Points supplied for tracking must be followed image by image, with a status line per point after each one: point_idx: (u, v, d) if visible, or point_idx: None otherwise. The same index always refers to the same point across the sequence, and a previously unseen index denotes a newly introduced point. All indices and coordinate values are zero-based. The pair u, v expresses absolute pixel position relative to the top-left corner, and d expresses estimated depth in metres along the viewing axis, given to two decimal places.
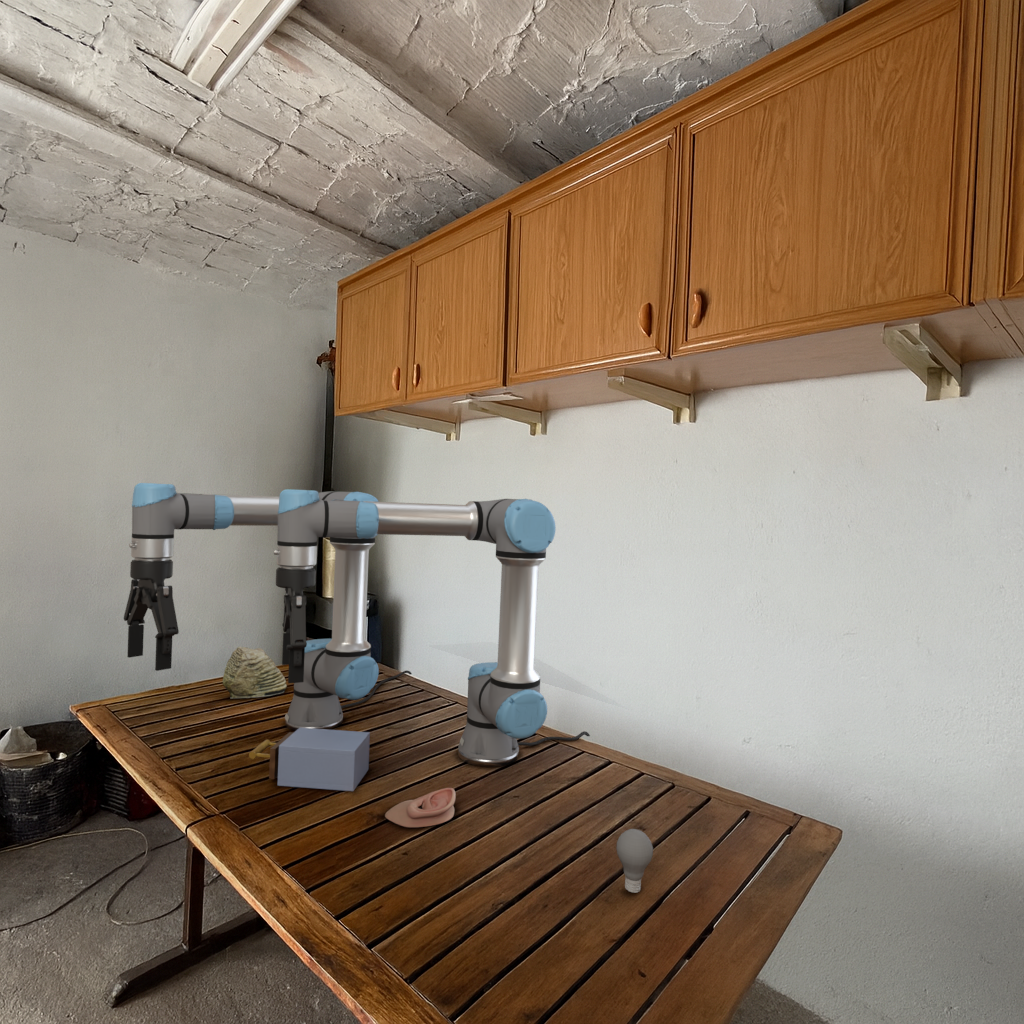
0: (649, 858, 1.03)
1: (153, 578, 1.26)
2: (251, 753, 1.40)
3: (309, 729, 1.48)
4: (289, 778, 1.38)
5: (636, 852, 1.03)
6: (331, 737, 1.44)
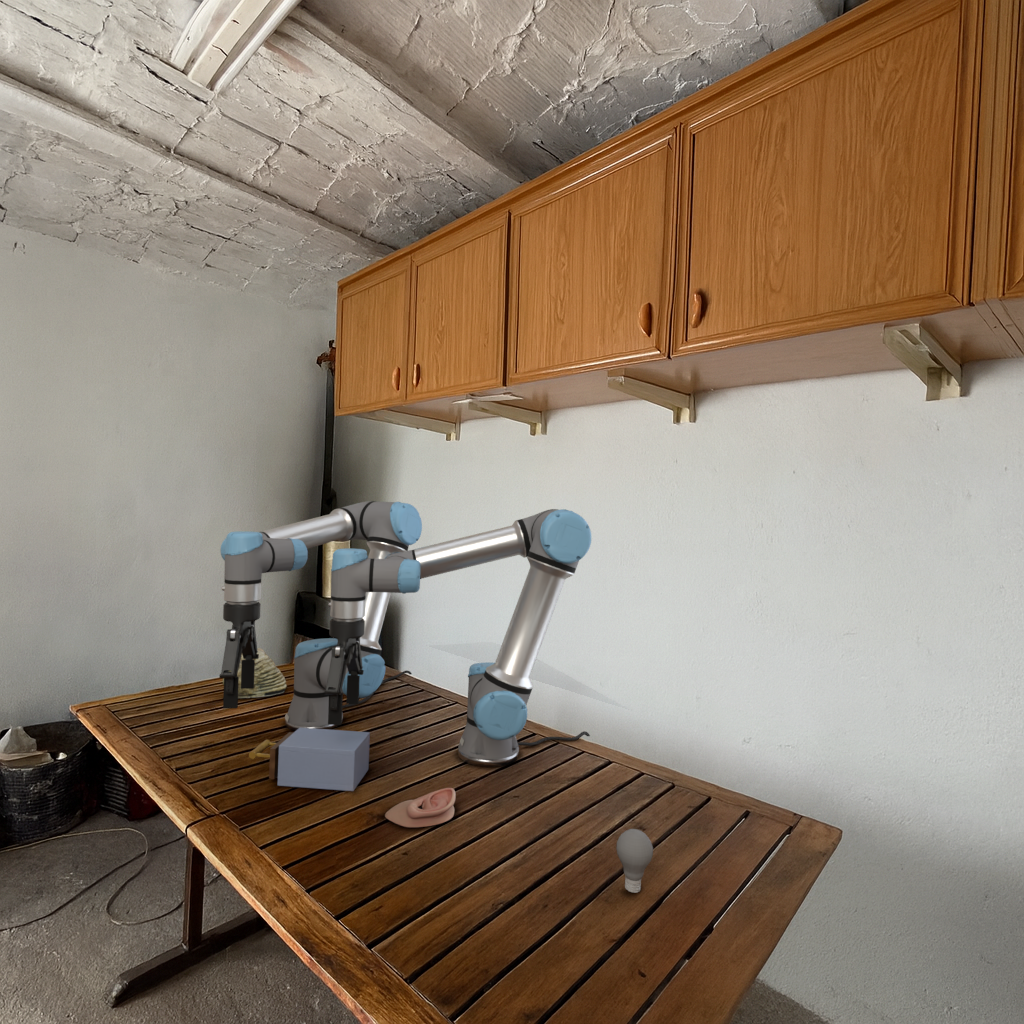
0: (649, 858, 1.03)
1: (231, 621, 1.36)
2: (251, 753, 1.40)
3: (309, 729, 1.48)
4: (289, 778, 1.38)
5: (636, 852, 1.03)
6: (331, 737, 1.44)
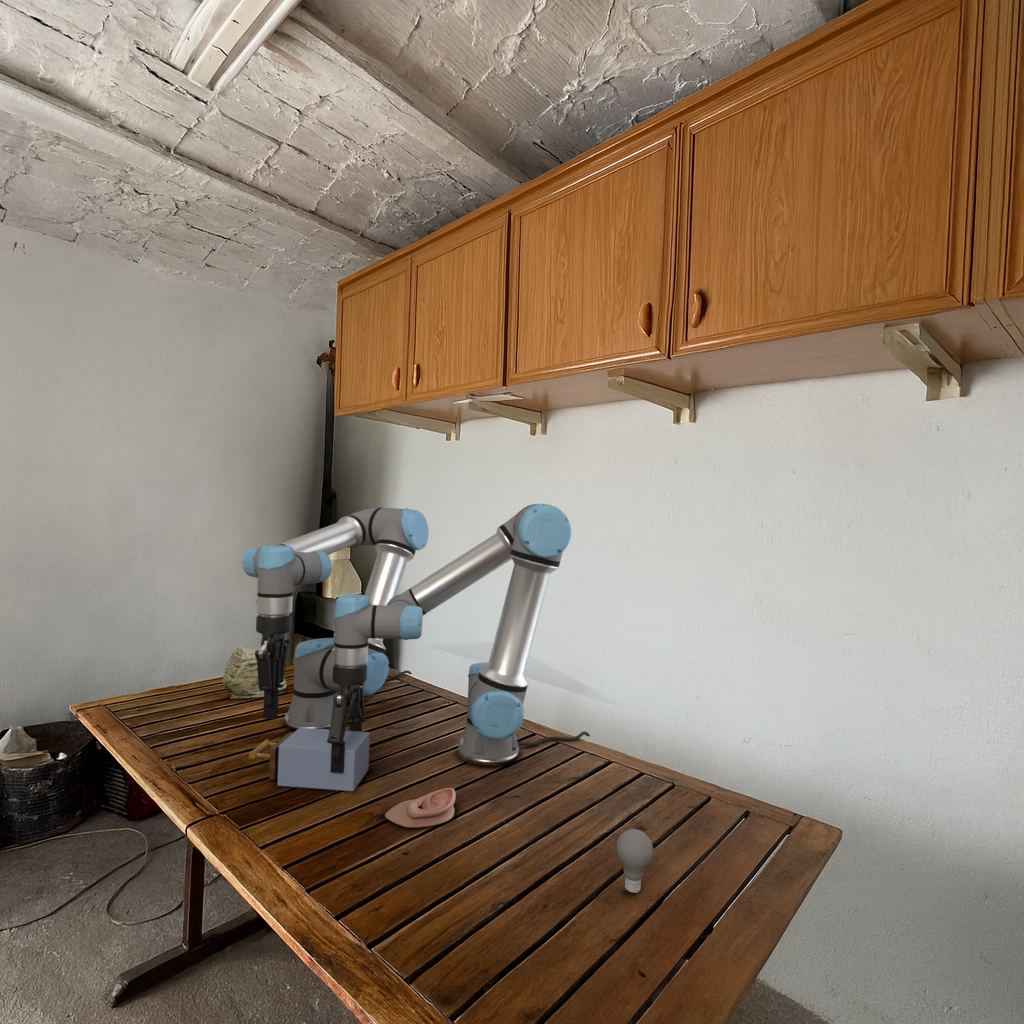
0: (649, 858, 1.03)
1: (261, 632, 1.40)
2: (251, 753, 1.40)
3: (309, 729, 1.48)
4: (289, 778, 1.38)
5: (636, 852, 1.03)
6: None
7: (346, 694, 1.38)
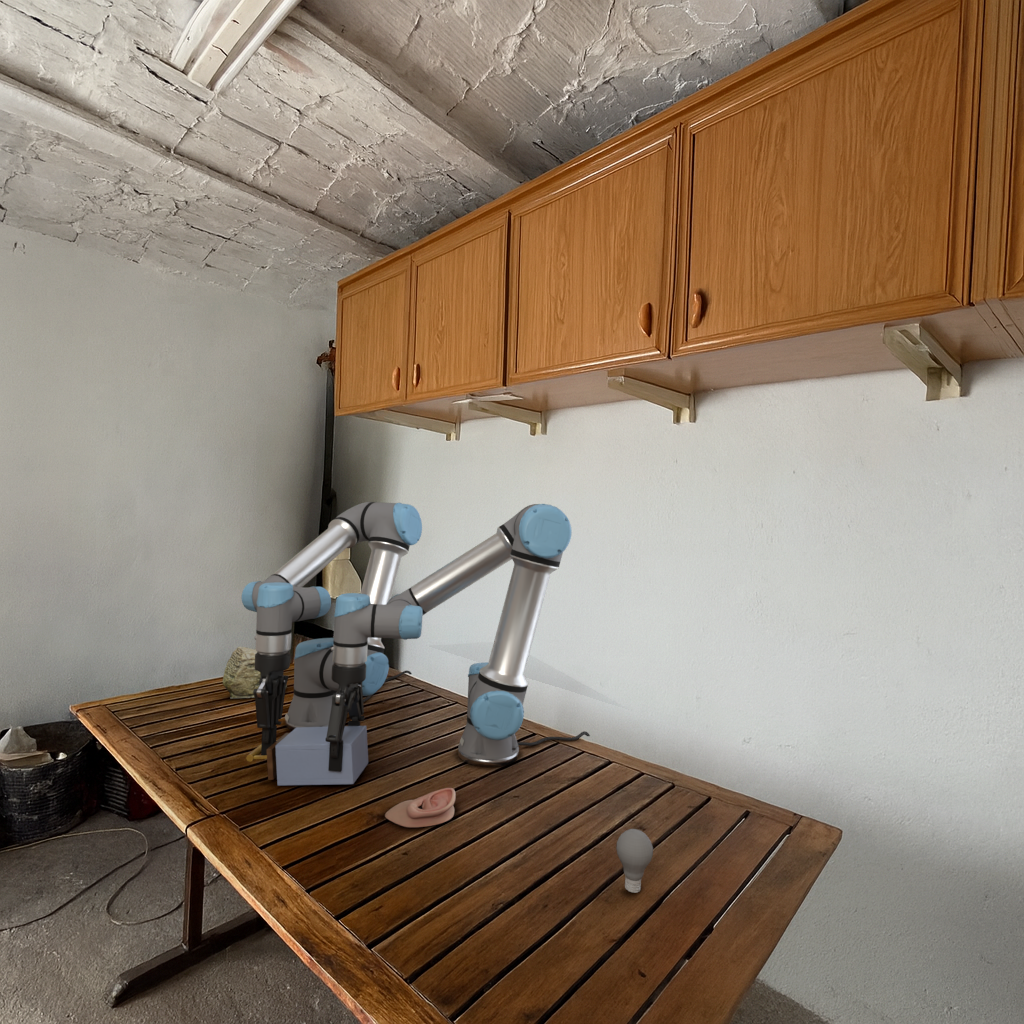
0: (649, 858, 1.03)
1: (260, 670, 1.40)
2: (248, 756, 1.40)
3: (306, 728, 1.48)
4: (288, 777, 1.38)
5: (636, 852, 1.03)
6: None
7: (345, 693, 1.38)
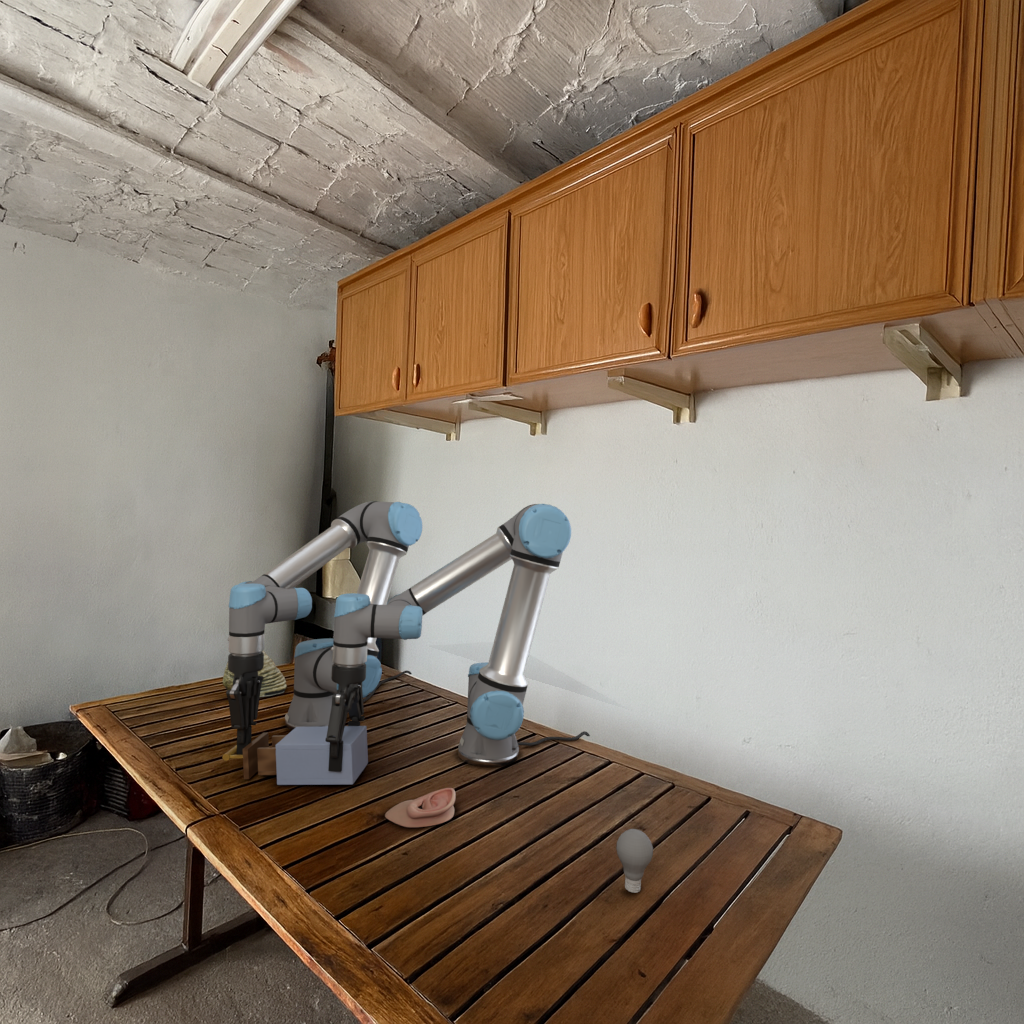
0: (649, 858, 1.03)
1: (233, 672, 1.40)
2: (224, 755, 1.41)
3: (306, 727, 1.48)
4: (288, 776, 1.38)
5: (636, 852, 1.03)
6: None
7: (345, 693, 1.38)
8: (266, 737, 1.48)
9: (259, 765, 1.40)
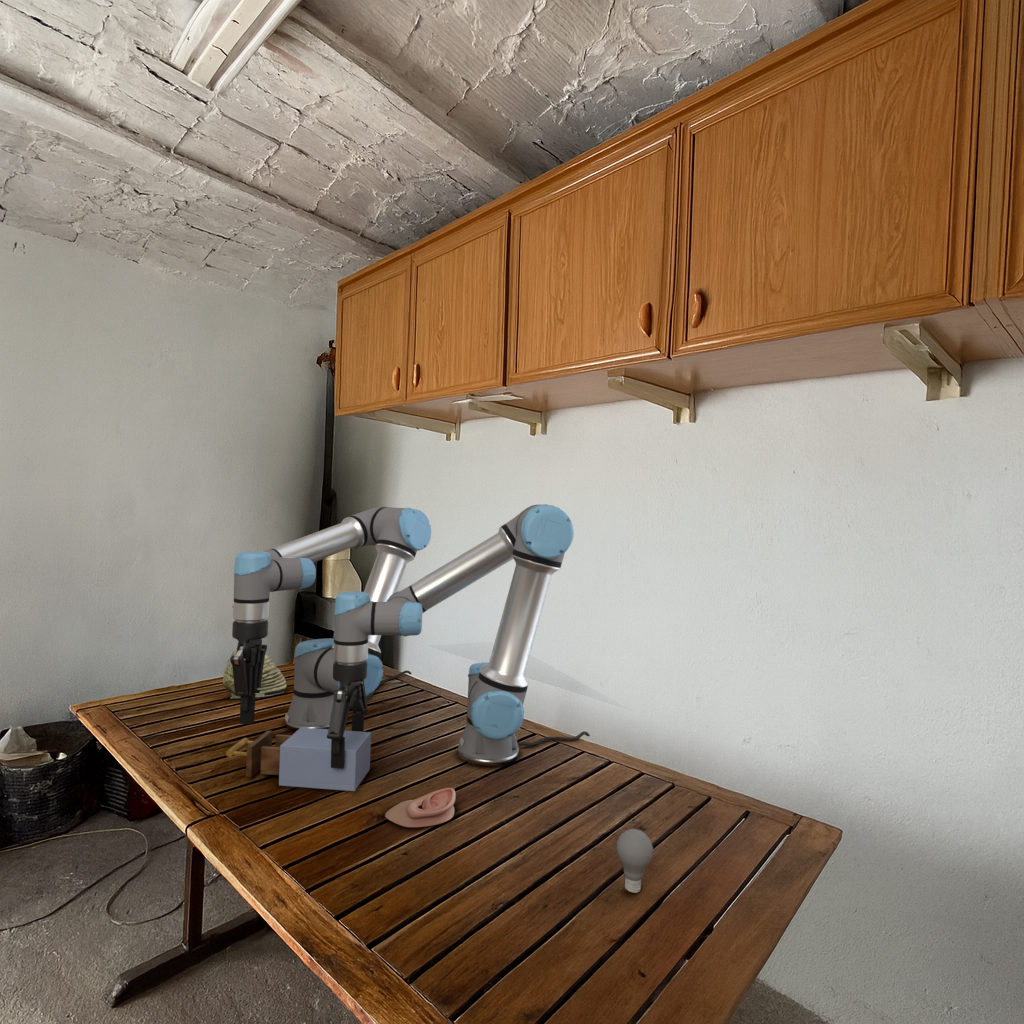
0: (649, 858, 1.03)
1: (237, 638, 1.40)
2: (228, 751, 1.41)
3: (310, 729, 1.48)
4: (290, 778, 1.38)
5: (636, 852, 1.03)
6: None
7: (347, 691, 1.38)
8: (270, 736, 1.48)
9: (262, 763, 1.40)
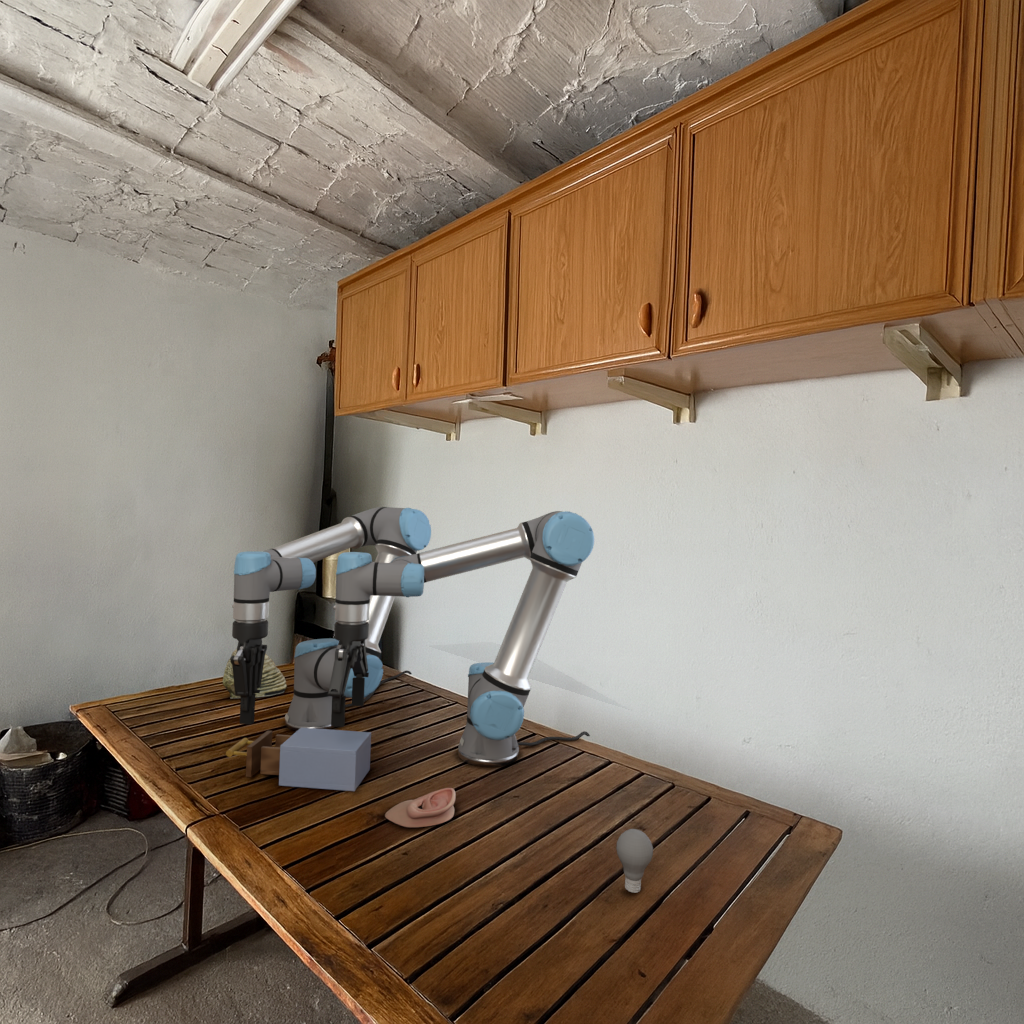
0: (649, 858, 1.03)
1: (237, 638, 1.40)
2: (228, 751, 1.41)
3: (310, 729, 1.48)
4: (290, 778, 1.38)
5: (636, 852, 1.03)
6: (333, 737, 1.44)
7: (348, 650, 1.38)
8: (270, 736, 1.48)
9: (262, 763, 1.40)
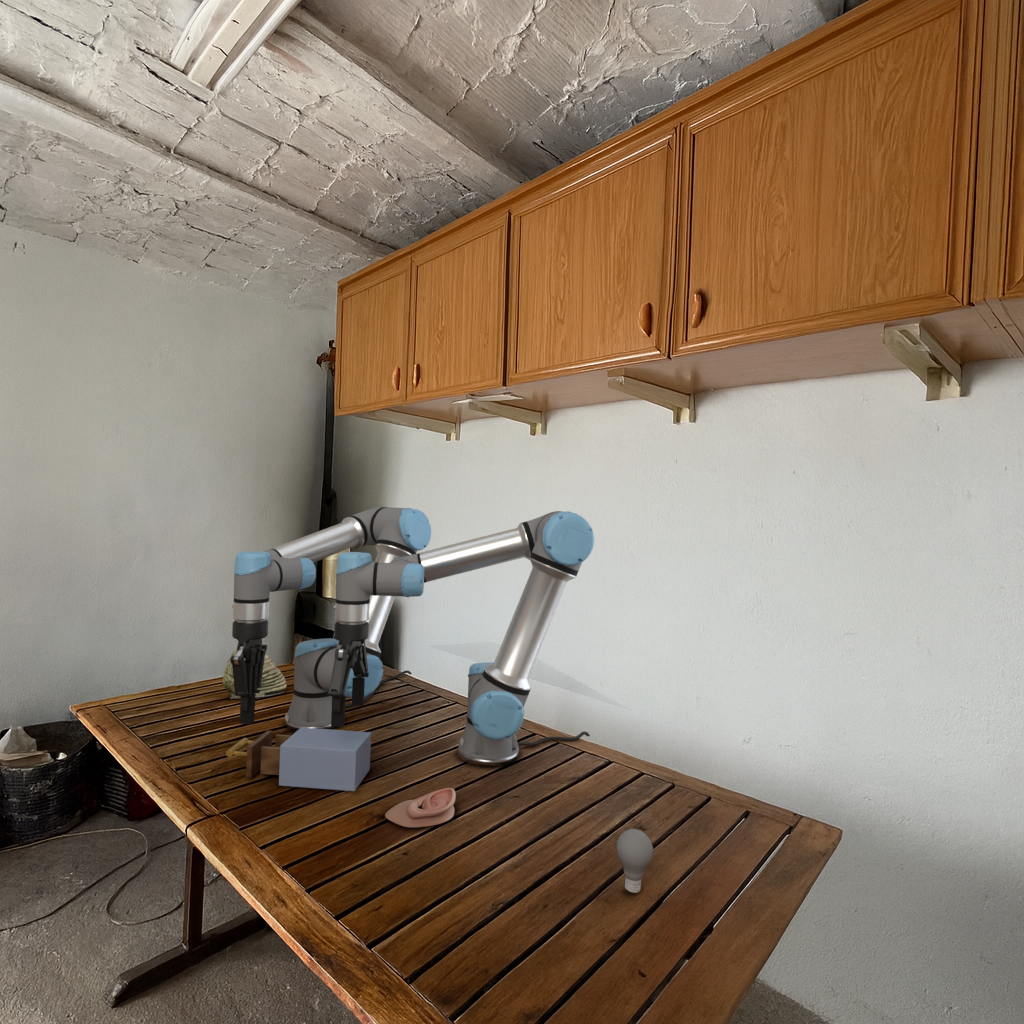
0: (649, 858, 1.03)
1: (237, 638, 1.40)
2: (228, 751, 1.41)
3: (310, 729, 1.48)
4: (290, 778, 1.38)
5: (636, 852, 1.03)
6: (333, 737, 1.44)
7: (348, 650, 1.38)
8: (270, 736, 1.48)
9: (262, 763, 1.40)
